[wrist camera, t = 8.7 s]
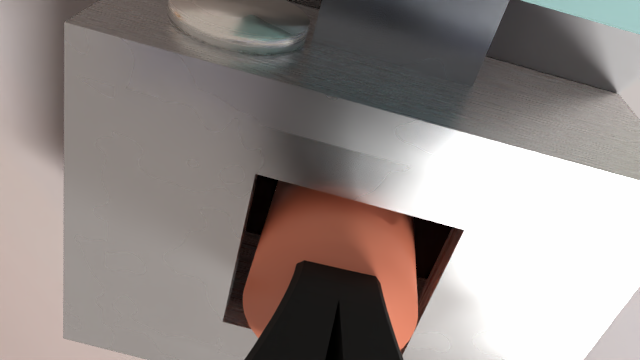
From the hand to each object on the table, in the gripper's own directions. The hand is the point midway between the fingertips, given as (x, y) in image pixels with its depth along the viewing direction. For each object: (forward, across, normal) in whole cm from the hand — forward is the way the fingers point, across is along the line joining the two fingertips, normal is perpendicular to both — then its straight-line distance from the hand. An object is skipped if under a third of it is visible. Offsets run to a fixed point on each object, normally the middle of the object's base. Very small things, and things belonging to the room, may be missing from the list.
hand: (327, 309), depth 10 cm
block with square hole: (+5, 0, 0) cm, 5 cm away
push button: (+4, 0, 0) cm, 4 cm away
